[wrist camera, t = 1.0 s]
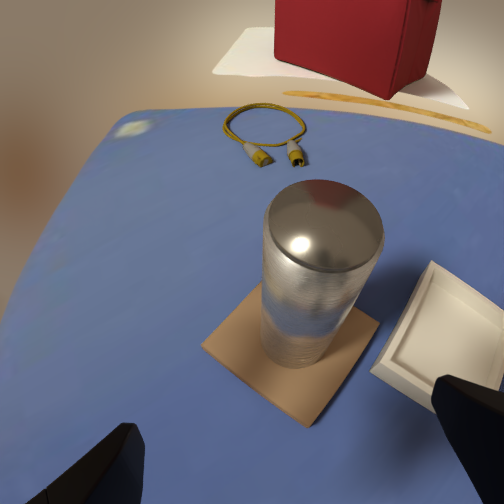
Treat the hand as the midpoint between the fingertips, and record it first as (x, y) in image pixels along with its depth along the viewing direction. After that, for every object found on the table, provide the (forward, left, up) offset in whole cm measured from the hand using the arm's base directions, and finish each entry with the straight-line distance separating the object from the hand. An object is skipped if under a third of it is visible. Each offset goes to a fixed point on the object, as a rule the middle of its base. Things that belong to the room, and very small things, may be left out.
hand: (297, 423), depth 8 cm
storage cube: (+27, -67, -15) cm, 74 cm away
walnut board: (+4, -7, -14) cm, 17 cm away
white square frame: (-8, -14, -14) cm, 22 cm away
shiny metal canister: (+4, -7, -13) cm, 16 cm away
